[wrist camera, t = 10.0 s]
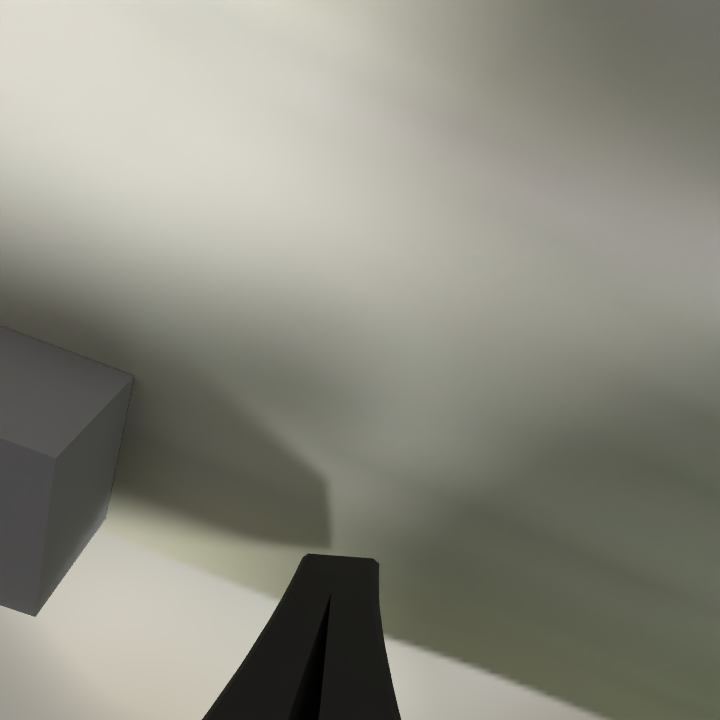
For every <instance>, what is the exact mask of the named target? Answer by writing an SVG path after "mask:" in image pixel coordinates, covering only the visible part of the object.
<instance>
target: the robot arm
mask: <svg viewBox="0 0 720 720" xmlns="http://www.w3.org/2000/svg"><path fill="white" fill-rule="evenodd" d="M202 720H401V717H400V713H399V709H398V706H397V701H396V697H395V692H394V688H393V684H392V679H391V673H390V668H389V664H388V659H387V653H386V649H385V643H384V637H383V630H382V623H381V615H380V606H379V563H378V562H377V561H375V560H374V559H371V558H358V557H345V556H332V555H319V554H307V555H306V556H304V557H303V558H302V560H301V562H300V564H299V566H298V568H297V570H296V573H295V574H294V576H293V578H292V580H291V582H290V584H289V586H288V588H287V590H286V592H285V593H284V595H283V597H282V599H281V601H280V602H279V604H278V606H277V607H276V609H275V611H274V613H273V615H272V616H271V618H270V620H269V621H268V623H267V624H266V626H265V628H264V629H263V631H262V632H261V634H260V636H259V637H258V639H257V640H256V642H255V643H254V645H253V647H252V648H251V650H250V651H249V653H248V655H247V656H246V658H245V659H244V661H243V662H242V664H241V665H240V667H239V668H238V670H237V671H236V673H235V674H234V675H233V677H232V678H231V680H230V681H229V683H228V684H227V685H226V687H225V688H224V690H223V691H222V692H221V694H220V695H219V697H218V698H217V700H216V701H215V702H214V704H213V705H212V707H211V708H210V710H209V711H208V712H207V714H206V715H205V716H204V718H203V719H202Z"/></svg>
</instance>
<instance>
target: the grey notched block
mask: <svg viewBox="0 0 720 720" xmlns="http://www.w3.org/2000/svg"><path fill="white" fill-rule="evenodd" d="M133 380H134V375H131V374H128V373H126V372H123V371H120V370H118V369H115V368H112V367H110V366H107V365H104V364H102V363H99V362H96V361H94V360H91V359H88V358H86V357H83V356H80V355H78V354H75V353H72V352H70V351H67V350H64V349H62V348H59V347H56V346H54V345H51V344H48V343H46V342H43V341H40V340H38V339H35V338H32V337H30V336H27V335H24V334H22V333H19V332H16V331H14V330H11V329H8V328H6V327H3V326H0V605H2V606H5V607H7V608H10V609H13V610H17V611H19V612H22V613H25V614H28V615H31V616H36V615H37V614H38V612H39V611H40V609H41V608H42V607H43V605H44V604H45V603H46V601H47V600H48V598H49V597H50V596H51V594H52V593H53V591H54V590H55V589H56V587H57V586H58V584H59V583H60V582H61V580H62V579H63V577H64V576H65V575H66V573H67V572H68V570H69V569H70V568H71V566H72V565H73V563H74V562H75V561H76V559H77V558H78V556H79V555H80V554H81V552H82V551H83V549H84V548H85V547H86V545H87V544H88V542H89V541H90V539H91V538H92V537H93V535H94V534H95V533H96V531H97V530H98V528H99V527H100V526H101V524H102V523H103V521H104V520H105V518H106V513H107V509H108V504H109V499H110V494H111V489H112V484H113V479H114V474H115V469H116V464H117V459H118V454H119V449H120V444H121V439H122V434H123V429H124V425H125V420H126V415H127V410H128V405H129V400H130V395H131V390H132V385H133Z"/></svg>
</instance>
